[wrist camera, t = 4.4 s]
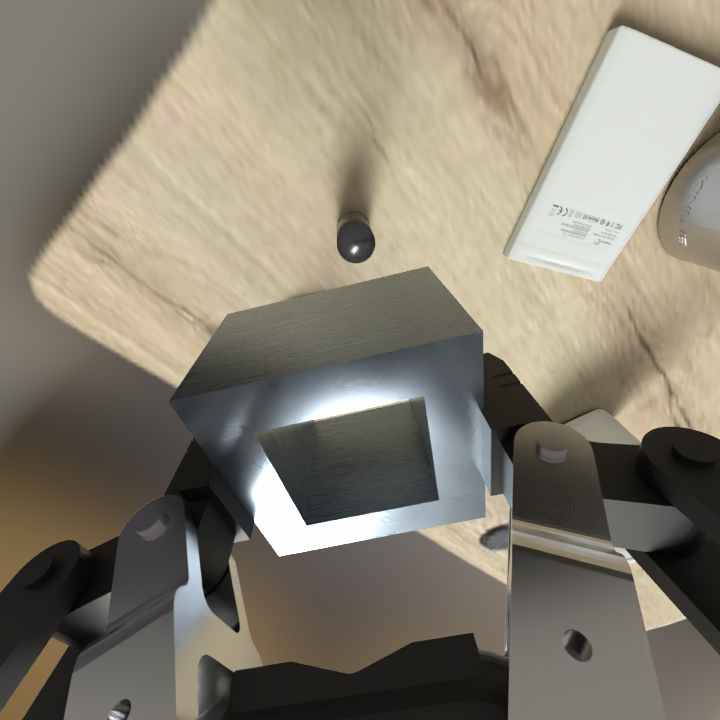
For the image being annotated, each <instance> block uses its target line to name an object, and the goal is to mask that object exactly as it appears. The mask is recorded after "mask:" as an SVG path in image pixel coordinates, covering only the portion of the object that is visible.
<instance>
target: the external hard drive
mask: <svg viewBox="0 0 720 720" xmlns="http://www.w3.org/2000/svg"><path fill="white" fill-rule="evenodd" d="M719 103H720V67H718V66H716V65H713V64H711V63H709V62H707V61H704V60H702V59H700V58H697V57H695V56H693V55H691V54H689V53H686V52H684V51H682V50H679V49H677V48H675V47H673V46H671V45H669V44H666V43H664V42H662V41H659V40H658V39H655V38H652V37H651V36H649V35H646V34H644V33H642V32H639V31H637V30H634V29H631V28H629V27H626V26H623V25H622V26H619V27H617V28H614V29H612V30H609V31H608V32H607V34H606V36H605V38H604V40H603V42H602V44H601V46H600V49H599V51H598V53H597V55H596V57H595V59H594V61H593V63H592V65H591V68H590V70H589V72H588V74H587V76H586V78H585V80H584V82H583V85H582V87H581V89H580V91H579V93H578V95H577V97H576V100H575V102H574V104H573V106H572V108H571V110H570V112H569V115H568V117H567V119H566V121H565V123H564V125H563V127H562V129H561V131H560V134H559V136H558V138H557V140H556V142H555V144H554V146H553V148H552V151H551V153H550V155H549V157H548V159H547V161H546V163H545V165H544V167H543V169H542V172H541V174H540V176H539V178H538V180H537V182H536V184H535V187H534V189H533V191H532V193H531V195H530V197H529V199H528V201H527V204H526V206H525V208H524V210H523V212H522V214H521V216H520V218H519V221H518V223H517V225H516V227H515V229H514V231H513V233H512V236H511V238H510V240H509V242H508V244H507V246H506V248H505V250H504V252H503V255H504V256H506V257H507V258H510V259H513V260H517V261H521V262H525V263H528V264H533V265H536V266H540V267H544V268H548V269H552V270H556V271H559V272H563V273H567V274H571V275H575V276H579V277H582V278H586V279H590V280H594V281H598V282H601V280H602V279H603V277H604V276H605V275H606V273H607V272H608V270H609V268H610V267H611V265H612V264H613V262H614V261H615V259H616V258H617V256H618V255H619V253H620V252H621V250H622V249H623V247H624V246H625V244H626V243H627V241H628V240H629V238H630V237H631V235H632V234H633V233H634V231H635V230H636V228H637V226H638V225H639V223H640V222H641V220H642V219H643V217H644V216H645V214H646V213H647V211H648V210H649V209H650V207H651V205H652V204H653V202H654V201H655V199H656V198H657V196H658V195H659V193H660V192H661V190H662V189H663V187H664V186H665V184H666V183H667V181H668V180H669V178H670V177H671V175H672V174H673V172H674V171H675V169H676V168H677V166H678V165H679V163H680V162H681V160H682V159H683V158H684V156H685V155H686V153H687V152H688V150H689V149H690V147H691V146H692V144H693V142H694V141H695V139H696V138H697V136H698V135H699V133H700V132H701V130H702V129H703V127H704V126H705V124H706V123H707V121H708V120H709V118H710V117H711V115H712V114H713V112H714V111H715V109H716V108H717V106H718V105H719Z"/></svg>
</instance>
